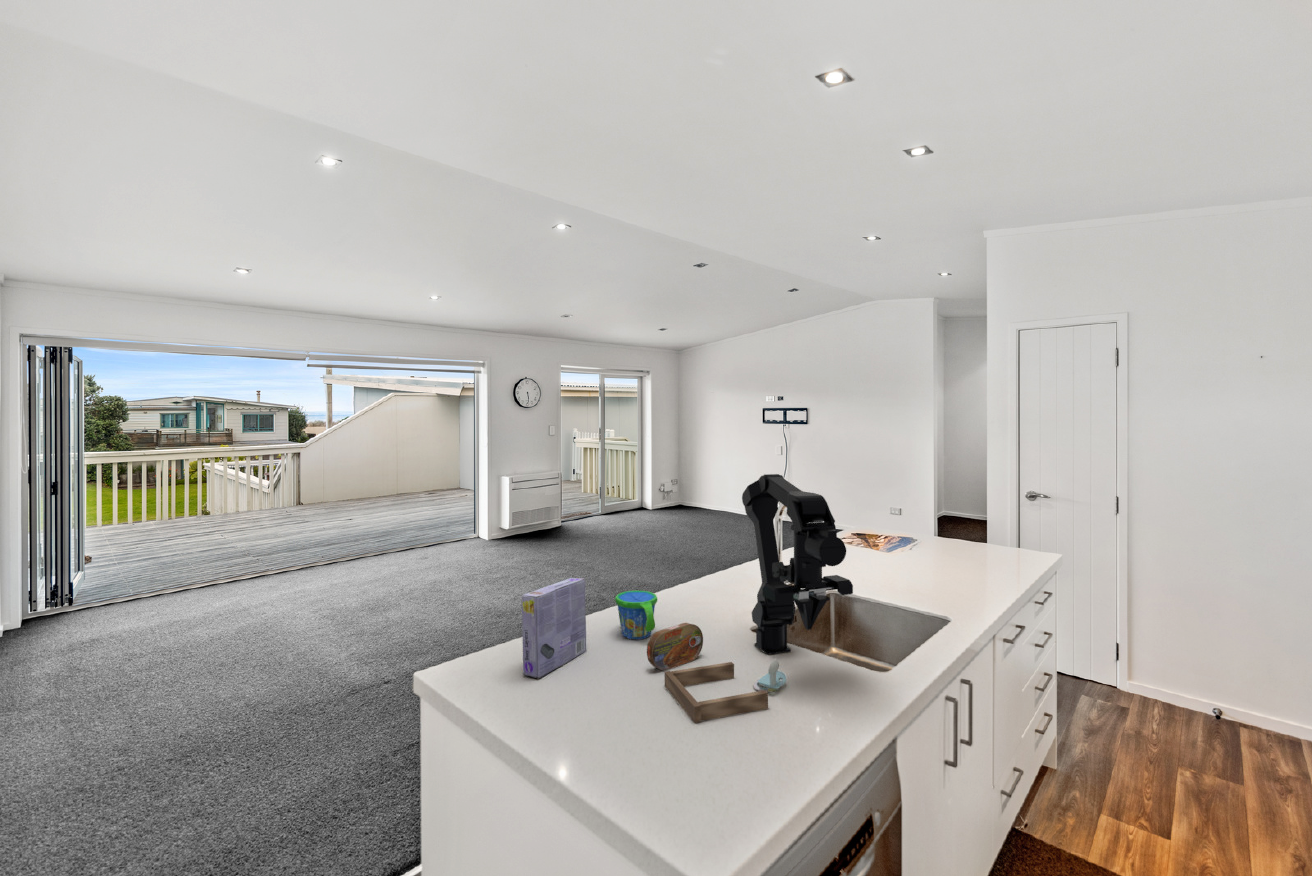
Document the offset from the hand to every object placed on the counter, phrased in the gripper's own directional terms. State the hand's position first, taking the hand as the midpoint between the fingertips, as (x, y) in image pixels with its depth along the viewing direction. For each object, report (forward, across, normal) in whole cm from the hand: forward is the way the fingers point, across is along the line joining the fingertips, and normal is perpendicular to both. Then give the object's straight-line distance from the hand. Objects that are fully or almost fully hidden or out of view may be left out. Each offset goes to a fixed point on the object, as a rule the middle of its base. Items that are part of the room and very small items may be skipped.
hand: (808, 629), depth 122 cm
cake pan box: (+11, +48, -28) cm, 57 cm away
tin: (+11, +23, -18) cm, 31 cm away
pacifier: (+11, +9, 0) cm, 15 cm away
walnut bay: (+11, +22, 0) cm, 25 cm away
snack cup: (+11, +26, -38) cm, 47 cm away
